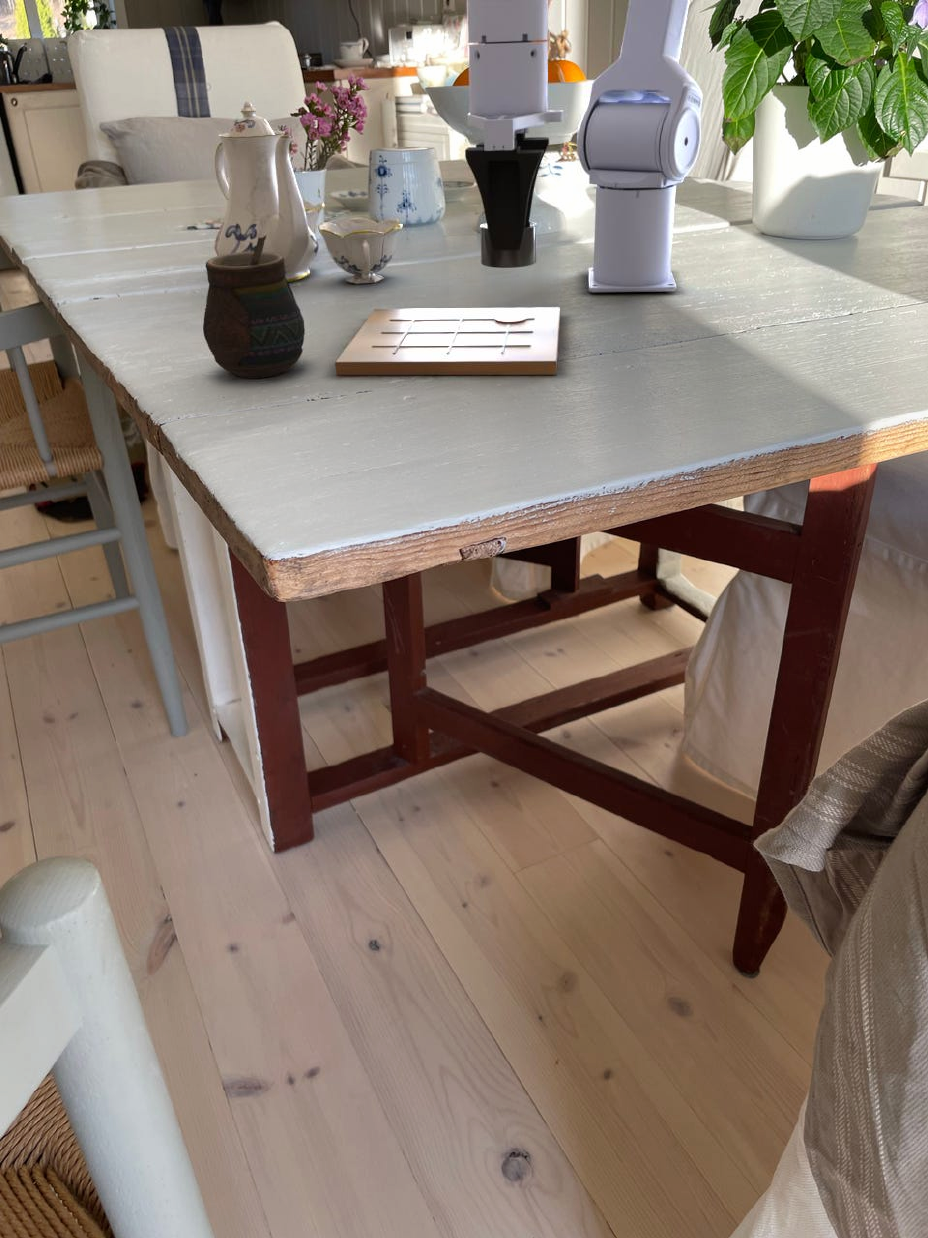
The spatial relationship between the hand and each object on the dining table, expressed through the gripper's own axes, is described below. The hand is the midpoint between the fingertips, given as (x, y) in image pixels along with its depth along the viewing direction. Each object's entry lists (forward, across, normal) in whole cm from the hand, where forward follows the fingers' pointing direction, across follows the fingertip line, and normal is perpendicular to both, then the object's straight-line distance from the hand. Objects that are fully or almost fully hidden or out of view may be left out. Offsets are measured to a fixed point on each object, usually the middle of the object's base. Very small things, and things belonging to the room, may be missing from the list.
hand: (509, 243), depth 76 cm
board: (+7, -4, +4) cm, 9 cm away
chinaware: (+7, +24, +25) cm, 36 cm away
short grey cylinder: (+1, 0, 0) cm, 1 cm away
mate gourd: (+7, -11, +18) cm, 22 cm away
